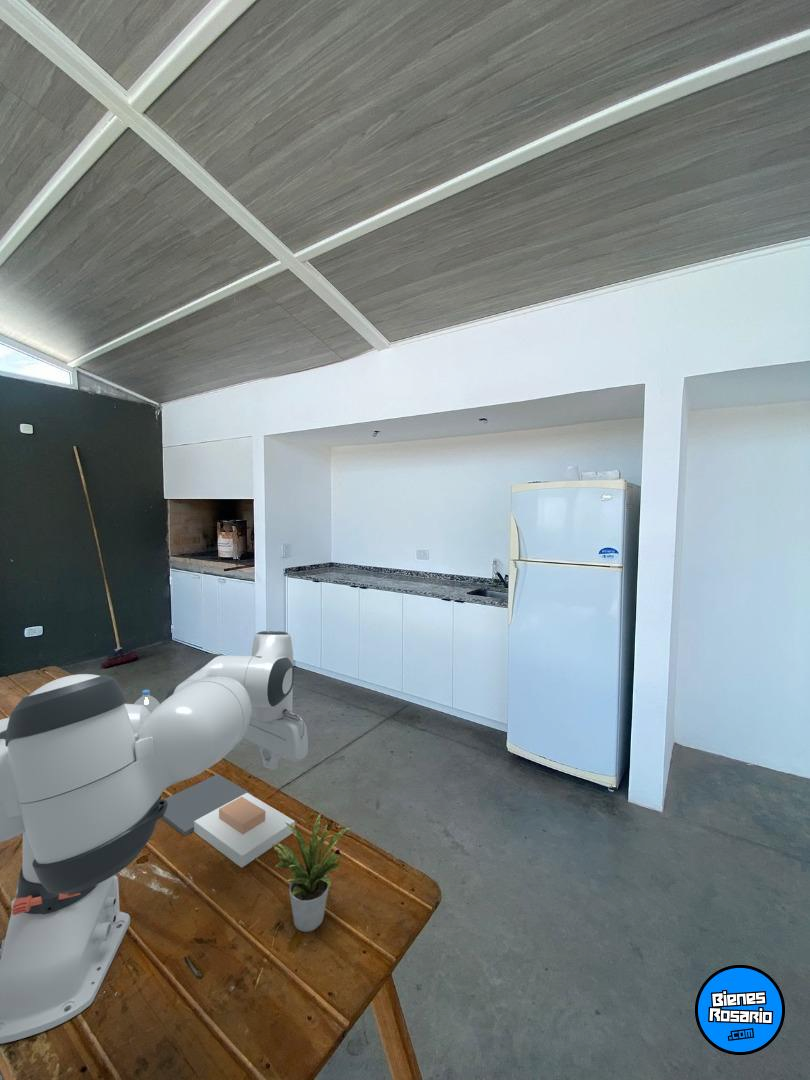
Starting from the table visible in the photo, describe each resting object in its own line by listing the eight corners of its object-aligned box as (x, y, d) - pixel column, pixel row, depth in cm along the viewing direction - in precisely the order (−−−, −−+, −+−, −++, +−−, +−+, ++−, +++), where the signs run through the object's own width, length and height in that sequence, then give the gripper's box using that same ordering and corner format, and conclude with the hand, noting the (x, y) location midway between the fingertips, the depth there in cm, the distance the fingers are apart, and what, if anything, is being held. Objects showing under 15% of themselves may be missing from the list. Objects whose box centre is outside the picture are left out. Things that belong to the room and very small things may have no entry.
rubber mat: (252, 798, 116) (253, 794, 116) (184, 836, 101) (184, 831, 101) (218, 777, 125) (218, 774, 125) (150, 809, 110) (150, 805, 110)
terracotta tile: (265, 820, 104) (265, 810, 104) (242, 834, 99) (242, 824, 99) (241, 805, 109) (241, 796, 109) (218, 818, 104) (219, 808, 104)
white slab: (294, 831, 104) (294, 820, 104) (241, 867, 93) (241, 856, 92) (246, 802, 114) (246, 792, 114) (193, 831, 103) (194, 821, 103)
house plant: (334, 873, 92) (336, 794, 91) (366, 924, 80) (368, 834, 80) (264, 902, 84) (265, 817, 84) (287, 964, 73) (289, 865, 72)
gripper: (315, 712, 94) (314, 777, 95) (254, 689, 106) (253, 747, 106) (292, 722, 89) (290, 791, 90) (230, 697, 101) (229, 758, 101)
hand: (270, 767), depth 98 cm, fingers closed
